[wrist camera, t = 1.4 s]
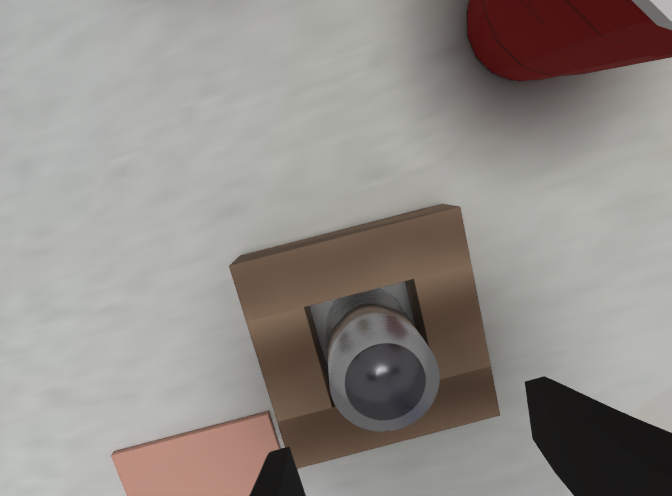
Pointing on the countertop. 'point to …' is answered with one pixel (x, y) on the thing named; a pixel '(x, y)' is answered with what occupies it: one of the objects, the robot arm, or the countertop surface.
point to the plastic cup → (567, 35)
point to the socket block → (351, 278)
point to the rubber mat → (200, 460)
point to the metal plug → (378, 362)
